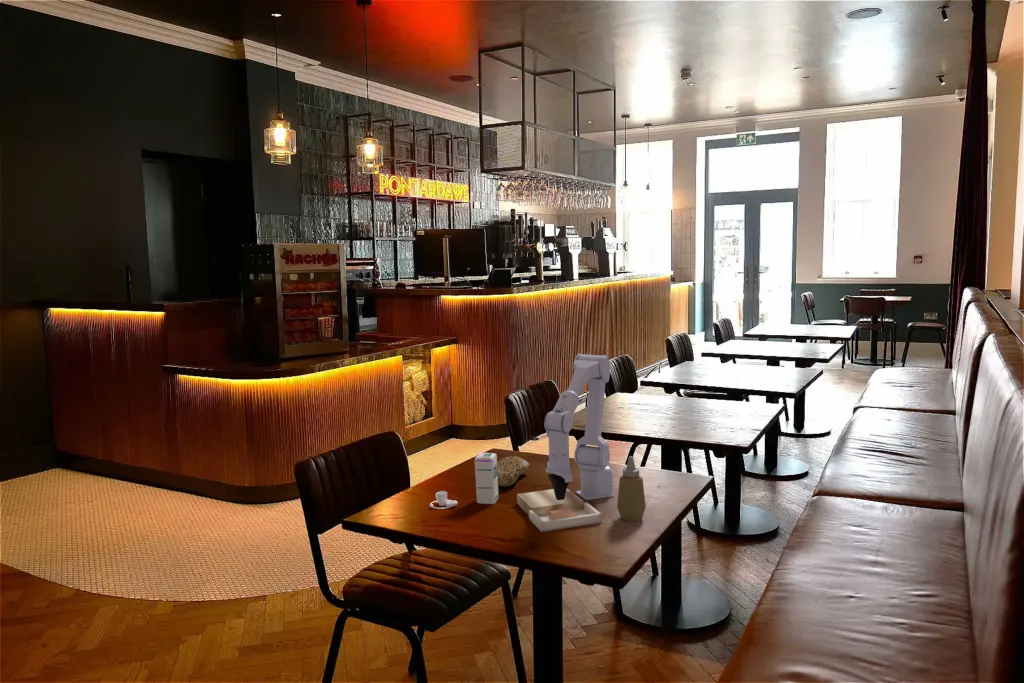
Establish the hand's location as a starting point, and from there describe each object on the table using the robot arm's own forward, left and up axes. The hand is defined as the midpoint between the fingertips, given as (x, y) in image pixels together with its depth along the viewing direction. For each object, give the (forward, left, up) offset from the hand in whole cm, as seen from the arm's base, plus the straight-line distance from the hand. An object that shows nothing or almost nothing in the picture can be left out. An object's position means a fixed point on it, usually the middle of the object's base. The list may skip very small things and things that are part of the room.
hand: (560, 499), depth 206 cm
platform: (0, -8, -5) cm, 10 cm away
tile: (0, +3, -5) cm, 5 cm away
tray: (0, +4, -5) cm, 6 cm away
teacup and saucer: (+31, -20, -6) cm, 37 cm away
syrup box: (+16, -21, -5) cm, 27 cm away
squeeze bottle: (-18, +9, -5) cm, 21 cm away
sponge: (+4, -37, -6) cm, 38 cm away
